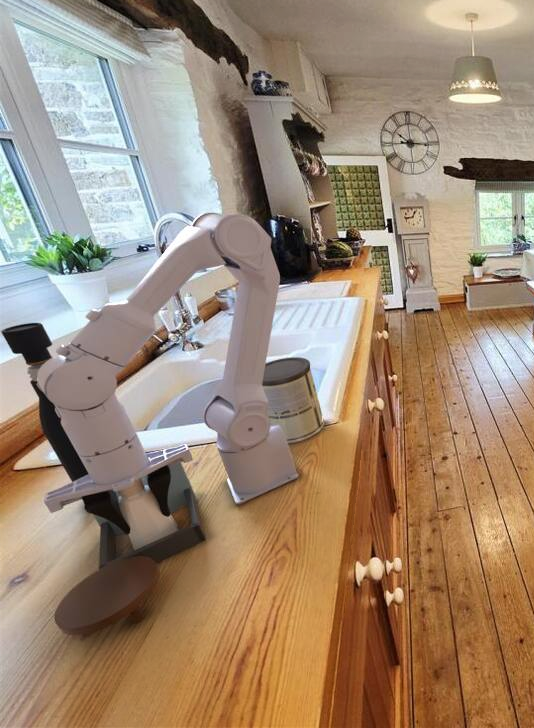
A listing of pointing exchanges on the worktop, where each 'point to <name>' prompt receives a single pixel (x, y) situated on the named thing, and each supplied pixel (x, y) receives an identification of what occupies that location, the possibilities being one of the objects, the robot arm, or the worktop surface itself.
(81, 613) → the stool
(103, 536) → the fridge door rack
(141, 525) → the salt shaker
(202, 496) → the worktop surface
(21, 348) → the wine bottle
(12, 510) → the worktop surface
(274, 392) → the coffee can
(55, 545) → the worktop surface
